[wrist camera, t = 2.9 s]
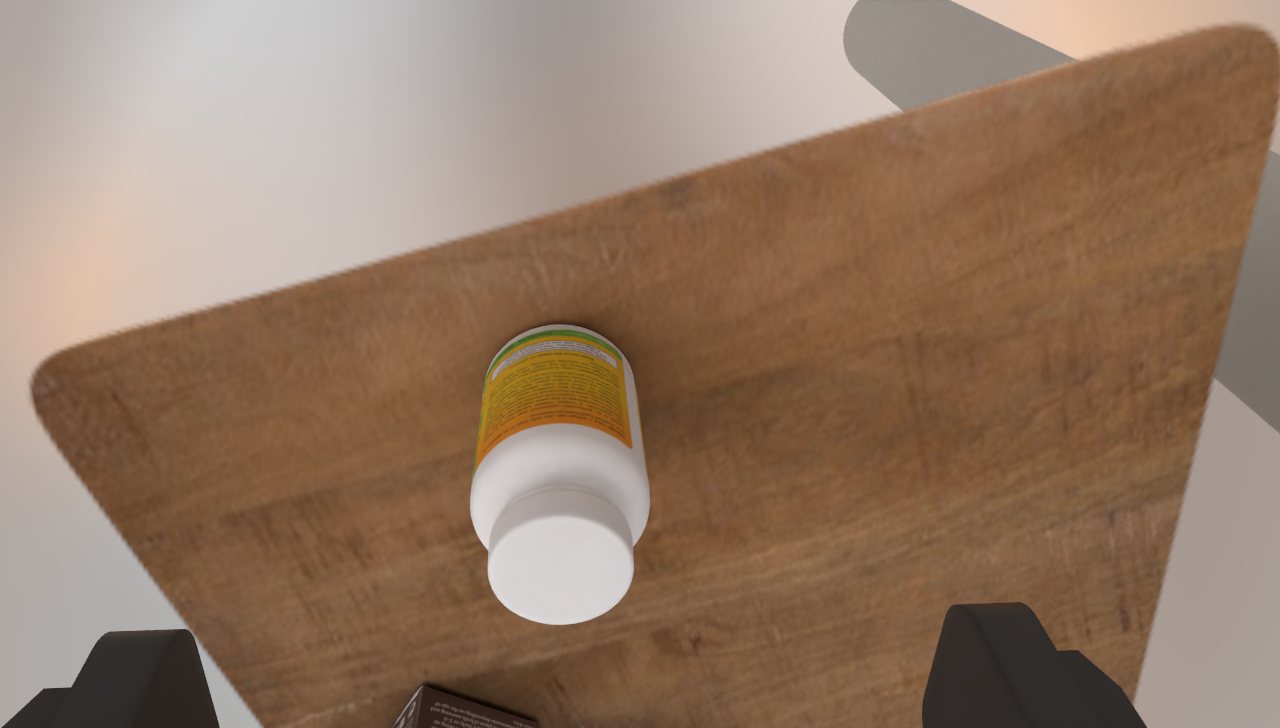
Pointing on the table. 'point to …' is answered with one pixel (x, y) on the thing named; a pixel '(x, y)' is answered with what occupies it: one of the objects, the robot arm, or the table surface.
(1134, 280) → the table surface
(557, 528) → the supplement bottle
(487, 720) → the box
